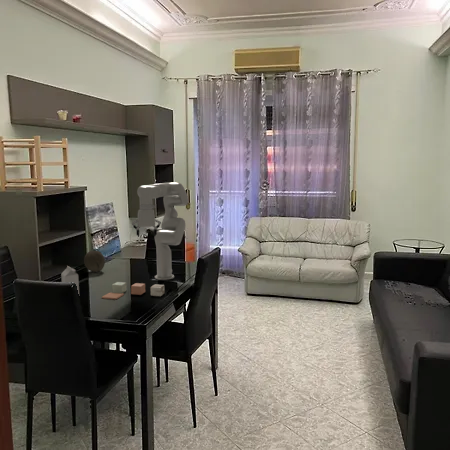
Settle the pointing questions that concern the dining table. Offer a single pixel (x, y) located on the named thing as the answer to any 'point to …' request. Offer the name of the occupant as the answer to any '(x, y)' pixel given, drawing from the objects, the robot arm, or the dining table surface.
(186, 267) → the dining table surface
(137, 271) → the dining table surface
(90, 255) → the cantaloupe
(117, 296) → the colour tile
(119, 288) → the sage block
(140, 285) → the terracotta block
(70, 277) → the milk carton
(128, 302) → the dining table surface
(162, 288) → the cream block
